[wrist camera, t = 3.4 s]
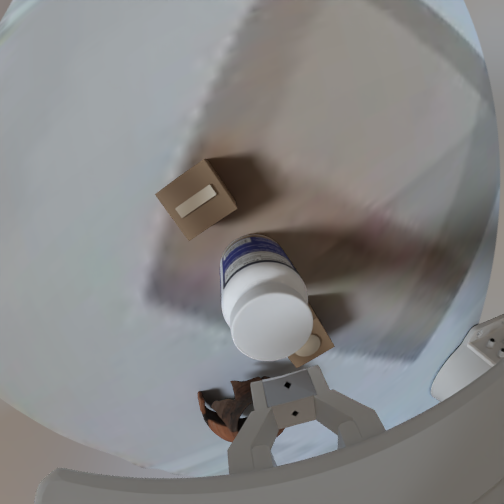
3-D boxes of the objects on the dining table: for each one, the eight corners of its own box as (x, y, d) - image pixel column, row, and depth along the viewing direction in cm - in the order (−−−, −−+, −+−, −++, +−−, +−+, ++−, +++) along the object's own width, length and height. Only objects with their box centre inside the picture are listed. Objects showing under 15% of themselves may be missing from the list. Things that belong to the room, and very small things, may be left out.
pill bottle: (277, 296, 26) (306, 369, 16) (215, 289, 25) (215, 365, 16) (291, 237, 24) (335, 290, 15) (225, 227, 23) (229, 278, 14)
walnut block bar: (207, 158, 21) (203, 159, 17) (234, 199, 22) (237, 209, 19) (166, 187, 22) (154, 194, 18) (194, 226, 23) (188, 242, 19)
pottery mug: (182, 372, 28) (210, 406, 21) (254, 345, 33) (296, 366, 26) (209, 445, 30) (239, 482, 22) (269, 417, 34) (307, 445, 27)
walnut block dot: (304, 295, 26) (317, 319, 22) (321, 323, 27) (335, 347, 24) (268, 317, 27) (276, 343, 23) (287, 342, 28) (297, 369, 24)
